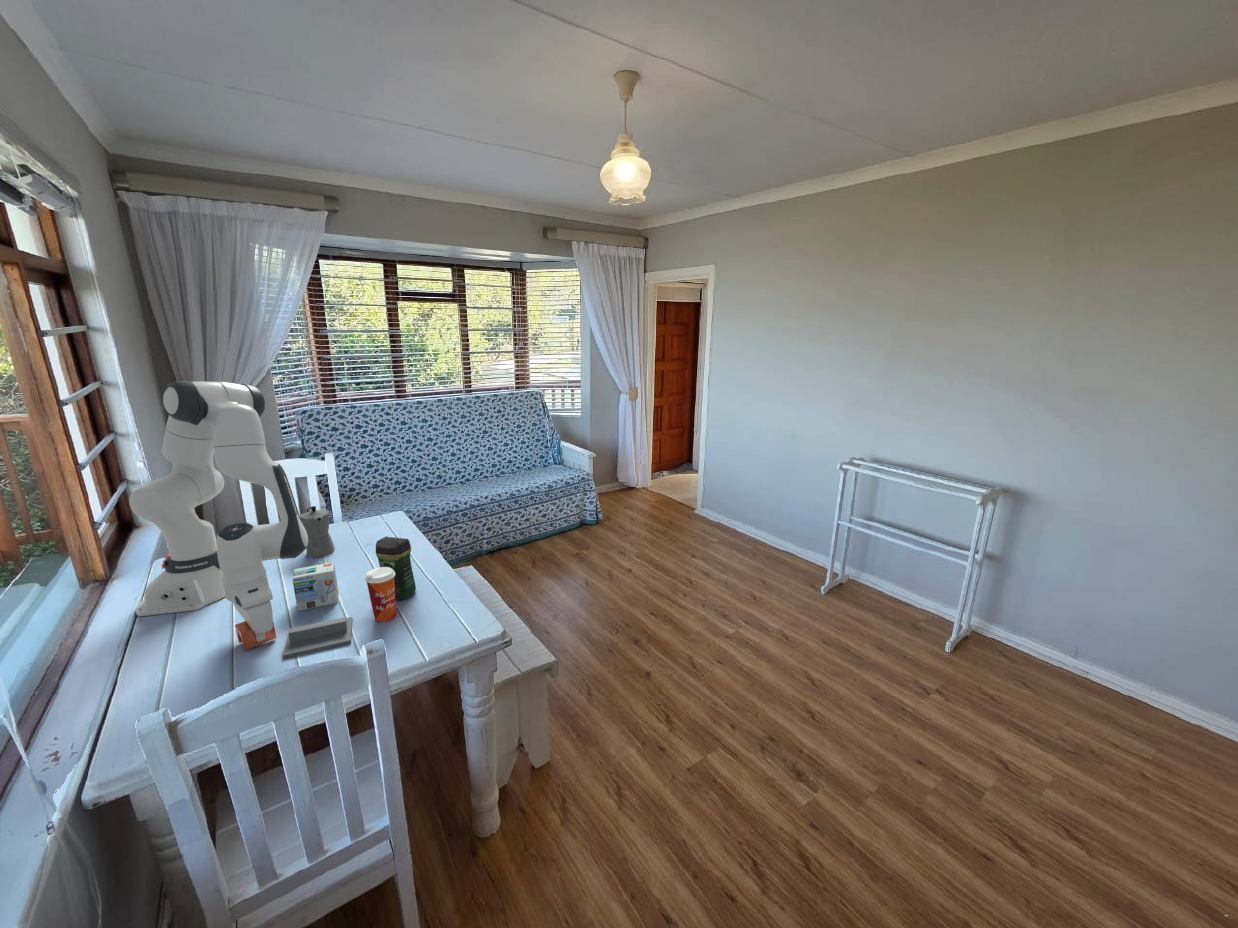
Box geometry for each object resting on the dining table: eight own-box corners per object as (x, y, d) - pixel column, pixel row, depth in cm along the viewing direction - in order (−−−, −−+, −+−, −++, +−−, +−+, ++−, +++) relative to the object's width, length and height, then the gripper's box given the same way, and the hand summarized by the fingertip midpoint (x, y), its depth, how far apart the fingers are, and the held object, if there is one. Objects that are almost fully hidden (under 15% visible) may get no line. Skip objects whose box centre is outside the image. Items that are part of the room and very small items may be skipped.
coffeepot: (340, 554, 181) (333, 507, 176) (311, 562, 175) (302, 514, 170) (328, 541, 192) (321, 497, 187) (300, 548, 185) (292, 503, 181)
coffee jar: (420, 589, 157) (414, 535, 152) (404, 602, 150) (397, 545, 145) (394, 585, 159) (387, 531, 154) (376, 598, 152) (369, 542, 147)
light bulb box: (297, 611, 144) (290, 578, 142) (299, 601, 150) (293, 568, 147) (339, 603, 149) (333, 570, 146) (339, 592, 155) (334, 561, 152)
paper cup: (381, 627, 137) (375, 581, 134) (365, 618, 141) (358, 574, 137) (406, 614, 144) (400, 570, 140) (390, 606, 148) (384, 563, 144)
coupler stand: (283, 658, 124) (280, 644, 123) (290, 633, 134) (287, 620, 133) (351, 643, 130) (348, 629, 129) (352, 619, 141) (350, 607, 140)
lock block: (244, 650, 126) (240, 633, 125) (238, 641, 130) (234, 624, 128) (276, 637, 131) (273, 621, 130) (269, 629, 135) (266, 613, 133)
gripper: (220, 577, 130) (230, 624, 134) (243, 606, 118) (253, 656, 121) (249, 569, 135) (258, 614, 139) (274, 595, 122) (283, 644, 126)
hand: (256, 634), depth 130 cm, fingers closed on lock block, 5 cm apart
